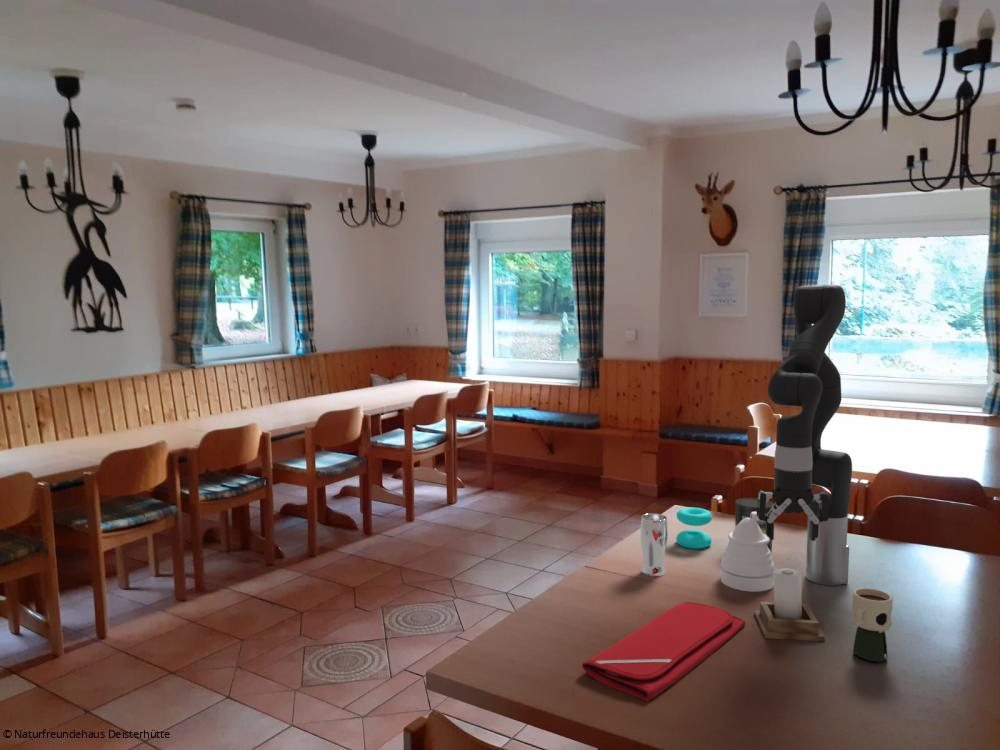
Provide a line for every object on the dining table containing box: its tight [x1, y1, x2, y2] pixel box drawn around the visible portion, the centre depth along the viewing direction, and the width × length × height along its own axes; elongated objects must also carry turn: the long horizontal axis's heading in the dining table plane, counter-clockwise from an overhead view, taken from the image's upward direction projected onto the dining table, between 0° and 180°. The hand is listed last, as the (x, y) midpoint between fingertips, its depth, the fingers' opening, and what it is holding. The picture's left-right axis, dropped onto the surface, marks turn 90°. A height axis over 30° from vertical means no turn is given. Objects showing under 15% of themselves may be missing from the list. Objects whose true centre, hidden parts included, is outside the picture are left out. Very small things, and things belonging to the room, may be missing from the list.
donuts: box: [675, 506, 713, 550], centre depth 219 cm, size 10×10×10 cm
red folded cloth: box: [581, 601, 746, 702], centre depth 155 cm, size 16×41×4 cm, turn 139°
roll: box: [773, 567, 803, 620], centre depth 165 cm, size 6×6×11 cm
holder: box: [753, 601, 826, 642], centre depth 165 cm, size 12×12×4 cm
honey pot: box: [720, 512, 775, 593], centre depth 190 cm, size 13×13×18 cm
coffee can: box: [734, 497, 775, 556], centre depth 213 cm, size 10×10×14 cm
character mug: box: [851, 587, 894, 662], centre depth 151 cm, size 11×7×13 cm, turn 126°
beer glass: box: [640, 513, 669, 577], centre depth 197 cm, size 7×7×15 cm
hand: (791, 539), depth 163 cm, fingers open, 8 cm apart
